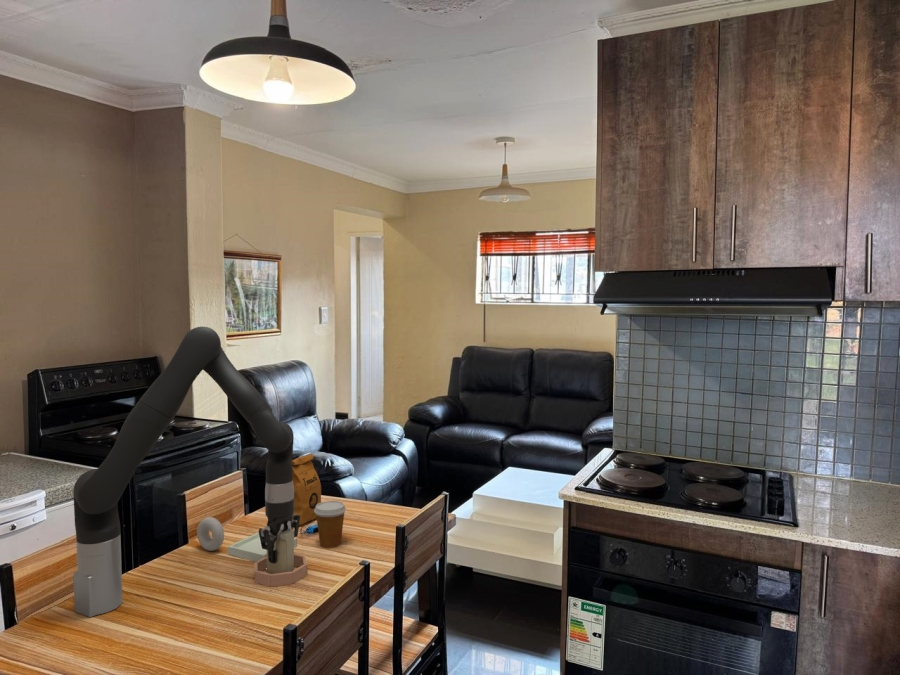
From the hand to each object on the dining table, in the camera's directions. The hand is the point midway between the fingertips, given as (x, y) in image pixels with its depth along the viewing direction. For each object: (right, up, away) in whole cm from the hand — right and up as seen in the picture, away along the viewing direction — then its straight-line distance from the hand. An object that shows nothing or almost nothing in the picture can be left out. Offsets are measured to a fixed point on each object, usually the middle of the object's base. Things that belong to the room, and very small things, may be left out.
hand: (280, 558), depth 163 cm
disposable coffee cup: (+9, -4, +21) cm, 23 cm away
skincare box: (0, -5, 0) cm, 5 cm away
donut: (-25, -4, +16) cm, 31 cm away
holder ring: (0, -4, 0) cm, 4 cm away
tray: (-10, -4, +16) cm, 19 cm away
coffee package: (-4, -2, +41) cm, 42 cm away
